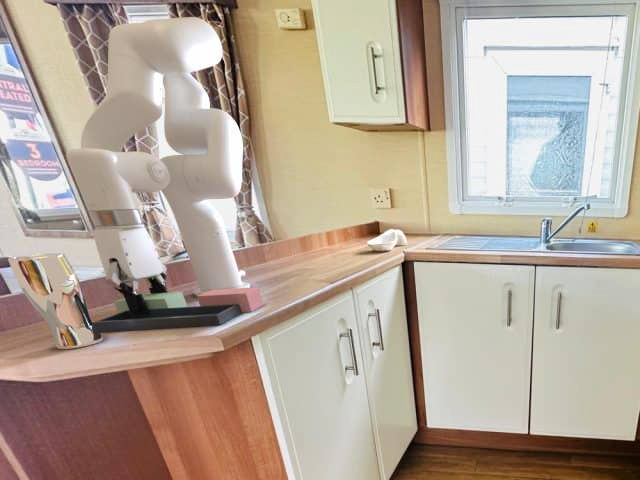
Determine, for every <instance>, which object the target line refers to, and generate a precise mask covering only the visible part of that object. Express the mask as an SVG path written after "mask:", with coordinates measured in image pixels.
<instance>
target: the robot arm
mask: <svg viewBox="0 0 640 480" xmlns="http://www.w3.org/2000/svg"><path fill="white" fill-rule="evenodd" d="M107 43H108V45H107V46H108V49H107V81H106V82H107V85H106V86H107V88H106V94H105V97H104V98H103V99H102V100H101V101H100V102H99V104H98V105H97V106H96V108H95V109H94V110H93V112H92V114H91V115H90V116H89V118H88V119H87V120H86V122H85V124H84V126H83V129H82V132H81V139H80V147H79V148H72V149H71V148H70V149H69V150H67V151H66V155H65V156H66V161H67V163H68V165H69V168H70V170H71V173H72V175H73V177H74V180H75V182H76V185H77V187H78V190H79V192H80V195H81V197H82V200H83V202H84V204H85V207H86V209H87V211H88V214H89V217H90V219H91V221H92V224H93V226H94V229H93V237H94V241H95V246H96V250H97V253H98V256H99V259H100V262H101V265H102V268H103V270H104V273H105V278H104V280H105V282H107V283H108V284H109V285H110V286H112V287H113V289H115V290H116V291H117V292H118V293H119V294H120V296H123V298H125V300H126V303H127V305H128V308H129V310H130V313H131V314H147V313H149V311H148V308H147V305H146V303H145V300H144V298H143V295H142V294H143V293H140V292H139V281H140V280H145V281H146V283H147V284H148V285H149V286H150V287H148V290H149V294H154V293H169V292H168V289H167V286H168V283H167V282H166V281H167V280H166V279H167V270H168V268H167V266H166V265H165V264H164V263H163V262H162V260H161V259H160V255H159V253H158V251H157V249H156V246H155V244H154V242H153V240H152V238H151V236H150V234H149V232H148V230H147V229H146V225H145V223H144V220H143V218H142V214H141V212H140V210H139V207H138V204H137V201H136V199H135V196H134V194H137V193H138V194H142V193H144V194H145V193H156V192H157V193H158V192H160V191H161V192H162V195H163V196H164V198H165V200H166V202H167V204H168V206H169V208H170V210H171V212H172V214H173V217H174V220H175V222H176V225H177V228H178V230H179V233H180V236H181V237H180V238H181V239H182V242H183V245H184V248H185V251H186V253H187V256H188V259H189V261H190V265H191V268H192V270H193V273H194V275H195V278H196V281H197V284H198V287H197V288H195V289H193V294H194V296H196V297H197V296H198V295H201V294H203V293H206V292H208V291H211V290H218V289H236V288H251V285H250V283H249V282H247V281H246V282H245V281H242V278H245V277H246V271H244V270H242V269H240V270H239V267H238V265H237V261H236V258H235V255H234V252H233V249H232V245H231V242H230V239H229V236H228V233H227V232H228V231H227V229H226V225H225V222H224V220H223V217H222V216H221V214H220V212H219V211H218V210H217V209H216V207H214V206H213V204H212V203H211V202H210V201H209V200H225V199H226V200H227V199H233V198H235V197H236V196H238V195H239V194H240V192H241V189H242V185H243V184H242V183H243V160H244V159H243V155H244V153H243V151H244V144H243V138H242V134H241V131H240V128H239V125H238V124H237V122H236V121H235V119H234V118H233V117H232V116H231V115H230V114H229V113H228V112H226V111H224V110H222V109H219V108H214V107H213V108H212V107H210V105H211V104H210V97H209V95H208V93H207V92H206V89H204V86H202V85H201V83H200V82H199V81H198V80H197V79H196V78H195V77H194V76H193V75H192V73H194V72H199V71H203V70H205V69H208V68H211V67H215V66H216V65H217V64H219V63H220V62H221V60H222V58H223V46H222V43H221V40H220V37H219V35H218V33H217V32H216V30H215V29H214V28H213V27H212V25H211V24H210V23H208V22H207V21H206V20H204V19H202V18H200V17H197V16H187V17H173V18H171V17H170V18H154V19H148V20H145V21H142V22H130V23H121V24H118V25H115V26H114V27H112V28H111V29H110V31H109V34H108V42H107ZM163 88H164V117H163V119H164V120H163V127H164V129H163V132H164V137H165V140H166V142H167V145H168V147H170V148H171V149H172V150H173V151H174V152H176V153H178V154H172V155H167V156H163V157H161V158H159V157H157V156H156V155H153V154H151V153H148V152H146V151H138V150H136V151H135V150H134V151H123V149H124V147H125V146H126V144H127V142H128V141H129V140H130V139H131V138H133V136H136V134H138V133H139V132H142V131H143V130H145V129H147V128H148V127H150V126H151V125H153V124H154V123H156V122H157V121H158V120H160V118H161V117H162V115H163ZM128 284H130V285H128Z"/></svg>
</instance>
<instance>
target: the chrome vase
mask: <svg viewBox="0 0 640 480" xmlns="http://www.w3.org/2000/svg"><path fill="white" fill-rule="evenodd" d="M7 261H8V263H9V266H10V267H11V270H12V272H13V275H14V277H15V279H16V281H17V283H18V285H19V288H20V290H21V291H22V293H23V294H24V295H25V297H26V299H27V300H28V301H29V302H30V304H31V305H32V306H33V307H34V309H35V310H36V311H37V313H39V315H40V316H41V317H42V318H43V321H45V322H46V324H47V325H48V327H49V329H50V331H51V333H52V336H53V339H54V340H53V341H54V343H55V347H56V348H57V349H58V350H71V349H73V350H74V349H78V348H84V347H88V346H92V345H95V344H97V343H100V342H102V341H103V340H104V336H103V335H102V334H101V332H98V330H97V329H96V328H95V326H94V325H93V321H92V319H91V316H90V313H89V309H88V305H87V301H86V296H85V293H84V289H83V287H82V283H81V281H80V279H79V277H78V275H77V272H75V270H74V268H73V266H72V264H71V263H70V261H69V260H68V258H67V256H66V253H63V252H55V253H53V252H52V253H41V254H30V255H21V256H16V257H9V258H7Z"/></svg>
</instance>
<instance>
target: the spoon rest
mask: <svg viewBox="0 0 640 480" xmlns="http://www.w3.org/2000/svg"><path fill="white" fill-rule="evenodd" d="M366 245H367V246H368V247H369V248H370V249H372V250H373V251H375V252H377V253H379V252H380V253H383V252H389V251H391V250H393V248H395V245H400V246H401V245H402V246H404V245H408V240H407V237H406V235H405V234H404V232H403V231H402V230H401V229H388V230H386V231H384V232H383V233H381V234H380V235H378V236H376V237H374V238H372V239H370V240H369V241H367V242H366Z"/></svg>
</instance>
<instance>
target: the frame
mask: <svg viewBox="0 0 640 480" xmlns="http://www.w3.org/2000/svg"><path fill="white" fill-rule="evenodd" d="M148 311H149V313H147V314H131V313H130V310H126V311H123V312H120V313H119V312H118V313H115V314H112V315H109V316H107V317H104V318H101V319H98V320H96V321H92V323H93V325H94V326H95V328H96V329H97V330H98V332H99V333H112V332H113V333H114V332H128V331H129V332H131V331H145V330H161V329H178V328H180V329H181V328H194V327H195V328H196V327H197V328H198V327H209V326H210V327H212V326H213V327H214V326H221V325H223V324H225V323H227V322H229V321H230V320H232V319H234V318H236V317H238V316H239V315H241V314H243V312H242V311H241V308H240V305H239V304H229V305H212V306H200V305H198V306H195V305H194V306H187V307H177V308H160V309H148Z"/></svg>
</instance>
